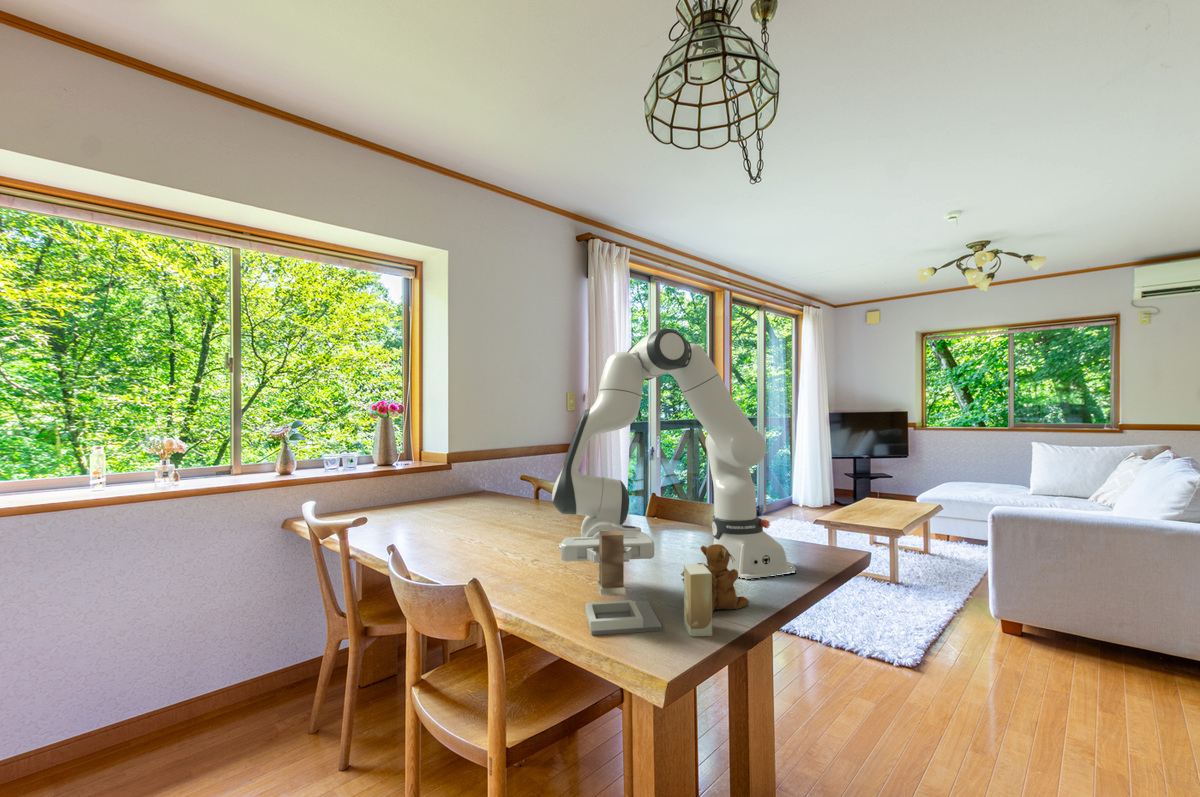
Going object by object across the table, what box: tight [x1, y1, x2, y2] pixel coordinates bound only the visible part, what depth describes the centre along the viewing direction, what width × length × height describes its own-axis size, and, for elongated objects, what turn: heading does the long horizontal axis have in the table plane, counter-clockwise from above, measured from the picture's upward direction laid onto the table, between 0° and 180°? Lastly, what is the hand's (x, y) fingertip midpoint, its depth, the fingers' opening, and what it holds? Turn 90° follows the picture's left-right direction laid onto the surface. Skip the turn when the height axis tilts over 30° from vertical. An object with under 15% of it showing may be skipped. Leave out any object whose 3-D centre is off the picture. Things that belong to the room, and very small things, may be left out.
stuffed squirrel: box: [680, 544, 750, 613], centre depth 120 cm, size 10×14×13 cm
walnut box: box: [597, 530, 626, 597], centre depth 111 cm, size 5×5×12 cm
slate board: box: [584, 599, 663, 636], centre depth 113 cm, size 14×14×3 cm
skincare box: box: [683, 563, 713, 638], centre depth 107 cm, size 6×4×12 cm
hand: (611, 558), depth 110 cm, fingers closed on walnut box, 4 cm apart
